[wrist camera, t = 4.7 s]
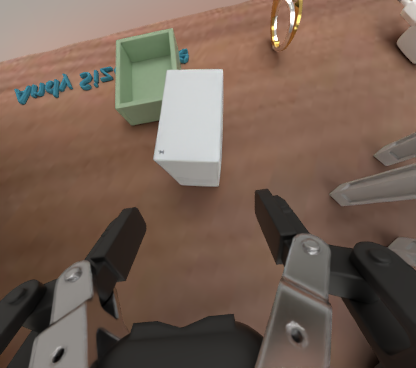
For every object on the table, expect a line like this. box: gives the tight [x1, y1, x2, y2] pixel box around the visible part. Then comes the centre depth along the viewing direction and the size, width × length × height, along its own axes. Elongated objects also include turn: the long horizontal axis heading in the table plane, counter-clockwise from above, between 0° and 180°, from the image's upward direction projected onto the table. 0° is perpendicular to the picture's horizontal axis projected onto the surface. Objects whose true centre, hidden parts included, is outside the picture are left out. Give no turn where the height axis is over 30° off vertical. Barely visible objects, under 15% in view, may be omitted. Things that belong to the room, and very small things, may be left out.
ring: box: [270, 0, 303, 51], centre depth 24 cm, size 7×3×8 cm, turn 9°
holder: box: [115, 28, 181, 125], centre depth 26 cm, size 10×14×4 cm
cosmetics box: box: [153, 69, 223, 187], centre depth 19 cm, size 10×6×10 cm, turn 177°
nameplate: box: [14, 49, 189, 105], centre depth 30 cm, size 37×1×5 cm
